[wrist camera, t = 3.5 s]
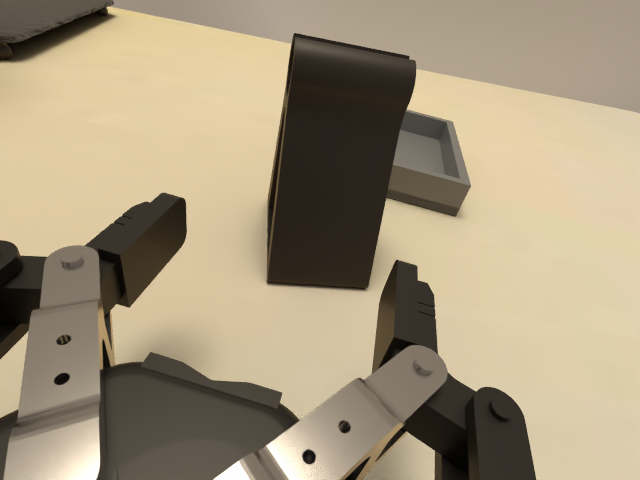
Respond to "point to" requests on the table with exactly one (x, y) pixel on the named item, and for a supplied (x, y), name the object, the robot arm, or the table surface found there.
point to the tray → (428, 165)
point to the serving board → (40, 18)
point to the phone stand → (334, 160)
